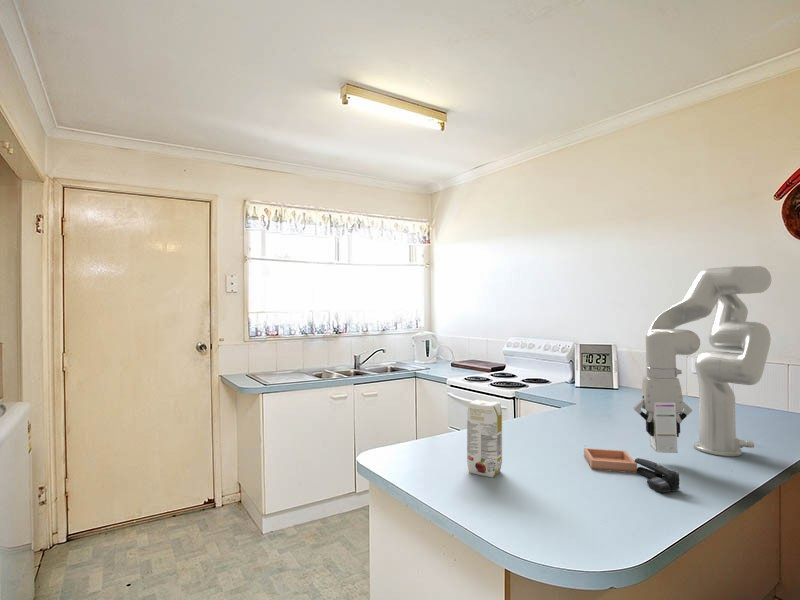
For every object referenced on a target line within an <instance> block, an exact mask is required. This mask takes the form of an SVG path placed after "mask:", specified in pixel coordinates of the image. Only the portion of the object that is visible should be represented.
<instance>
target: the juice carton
mask: <svg viewBox="0 0 800 600" xmlns="http://www.w3.org/2000/svg"><path fill="white" fill-rule="evenodd" d="M502 410H503V409H502V404H501V402H499V401H486V400H483V399H482V400H481V399H475V400H473V401H470V402H469V403H468V405H467V410H466V411H467V412H466V421H467V422H466V423H467V424H466V426H467V427H466V462H467V470H468V473H470V474H472V475H473V474H474V475H477V476H484V477H487V478H494V477H495V476H496V475H497V474H498V473H500V472H501V468H502V463H503V411H502Z"/></svg>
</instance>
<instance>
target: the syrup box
mask: <svg viewBox="0 0 800 600" xmlns="http://www.w3.org/2000/svg"><path fill="white" fill-rule="evenodd" d="M652 422H653V423H654V436H651V435H649V441H650V443H649V446H650V447H651V448H652V449H653V450H655V452H656V453H662V454H663V453H666V454H678V451H679V450H678V437H677V427H676V407H675V403H674V402H655V403H654V412H653V418H652Z"/></svg>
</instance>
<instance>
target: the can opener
mask: <svg viewBox="0 0 800 600" xmlns="http://www.w3.org/2000/svg"><path fill="white" fill-rule="evenodd" d="M634 461H635V462H636V463H637V465H640V466H638V467H637V471H638V472H637V473H639V474H640V473H641V474H640V475H642V476H645V477H647V478H650V479H647V480H646V484H647V486H648V487H649V488H650V489H652V490H654V491H655V492H658V493H659V492H660V493H663V492H664V493H666V492H673V491H676V490H679V488H680V473H679V471H676V470H670V469H668V468H667V467H666V466H663V465H662V463H657V462H654V461H651V460H647V459H645V458H640V457H638V458H635V459H634ZM642 466H643V467H642Z"/></svg>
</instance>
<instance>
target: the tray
mask: <svg viewBox="0 0 800 600" xmlns="http://www.w3.org/2000/svg"><path fill="white" fill-rule="evenodd" d="M583 457H584V459H585V461H586V462H587V463H588V466H589V467H590V469H591V470H594V469H595V470H597V471H598V470H599V471H607V470H611V472H620V471H625V472H624V473H633V472H637V468H638V467H637V466H638V463H636V462H635V459H634V458H633V457H631V455H630V454H628V452H627V451H626V450H615V449H607V448H606V449H604V448H588V447H583ZM595 470H594V471H595ZM637 473H638V472H637Z"/></svg>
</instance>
